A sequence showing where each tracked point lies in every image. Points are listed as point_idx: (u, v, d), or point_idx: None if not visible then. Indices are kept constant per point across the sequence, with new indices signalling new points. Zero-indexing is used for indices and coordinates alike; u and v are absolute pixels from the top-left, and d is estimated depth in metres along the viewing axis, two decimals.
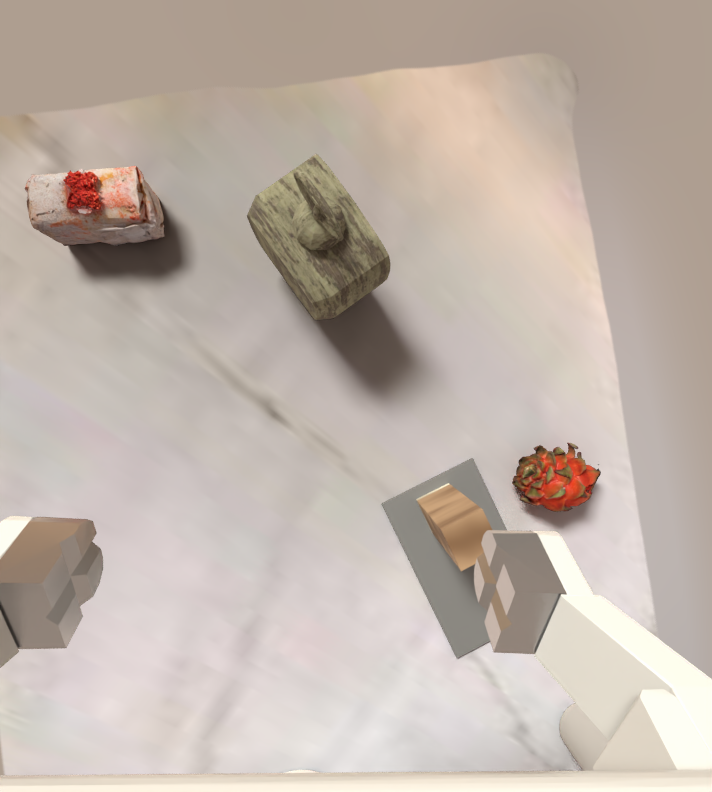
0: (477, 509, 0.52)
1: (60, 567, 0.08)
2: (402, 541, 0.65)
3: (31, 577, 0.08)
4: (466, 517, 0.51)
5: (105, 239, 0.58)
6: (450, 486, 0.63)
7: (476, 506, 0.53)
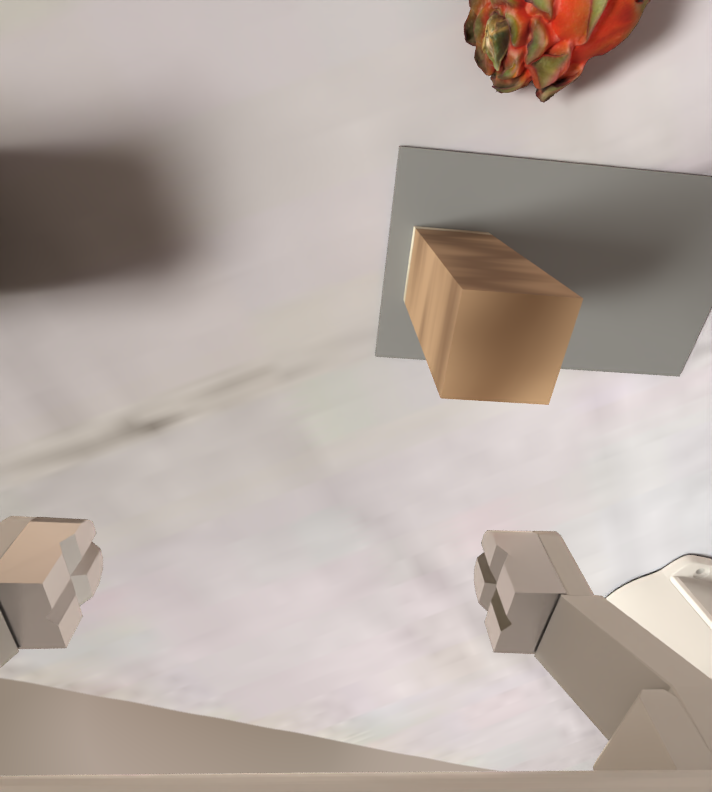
0: (457, 295, 0.20)
1: (60, 567, 0.08)
2: None
3: (31, 577, 0.08)
4: (455, 335, 0.20)
5: None
6: (417, 235, 0.30)
7: (453, 283, 0.20)
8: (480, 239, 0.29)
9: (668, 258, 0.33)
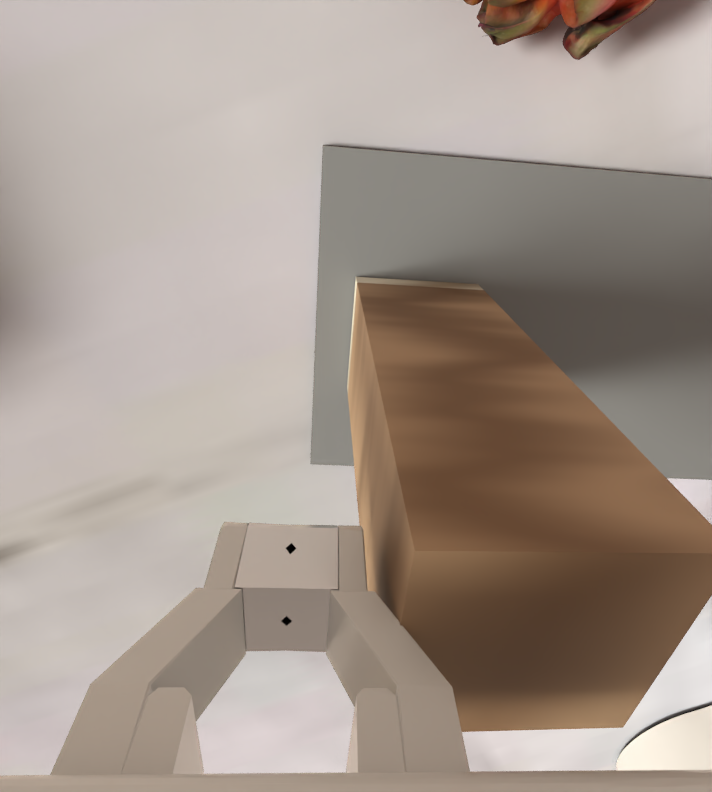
0: (405, 541, 0.07)
1: None
2: None
3: (276, 582, 0.08)
4: None
5: None
6: (358, 296, 0.17)
7: (398, 492, 0.08)
8: (465, 305, 0.17)
9: None
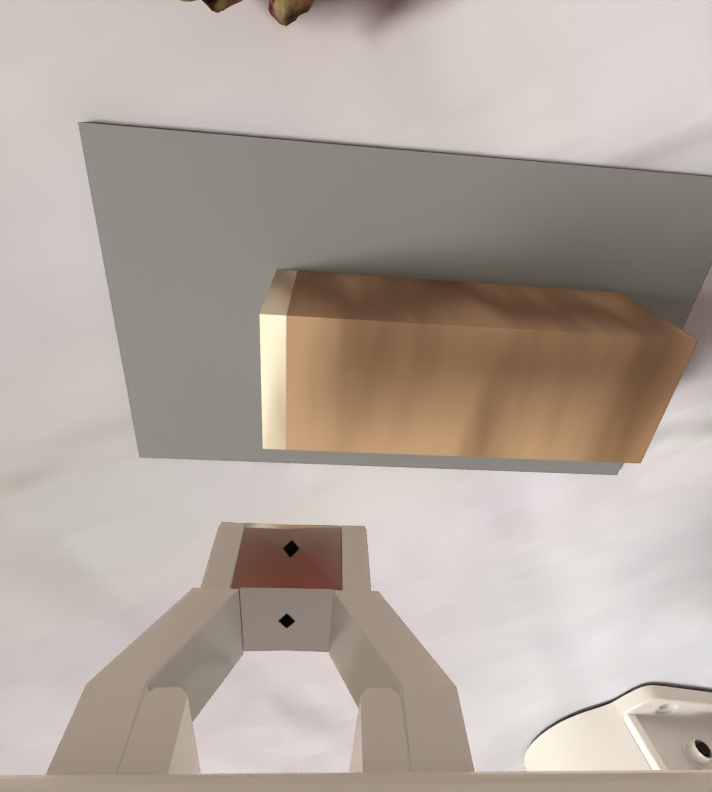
0: (676, 350, 0.15)
1: None
2: (262, 456, 0.23)
3: (273, 582, 0.08)
4: (672, 391, 0.16)
5: None
6: (320, 324, 0.15)
7: (652, 343, 0.15)
8: (350, 283, 0.18)
9: None
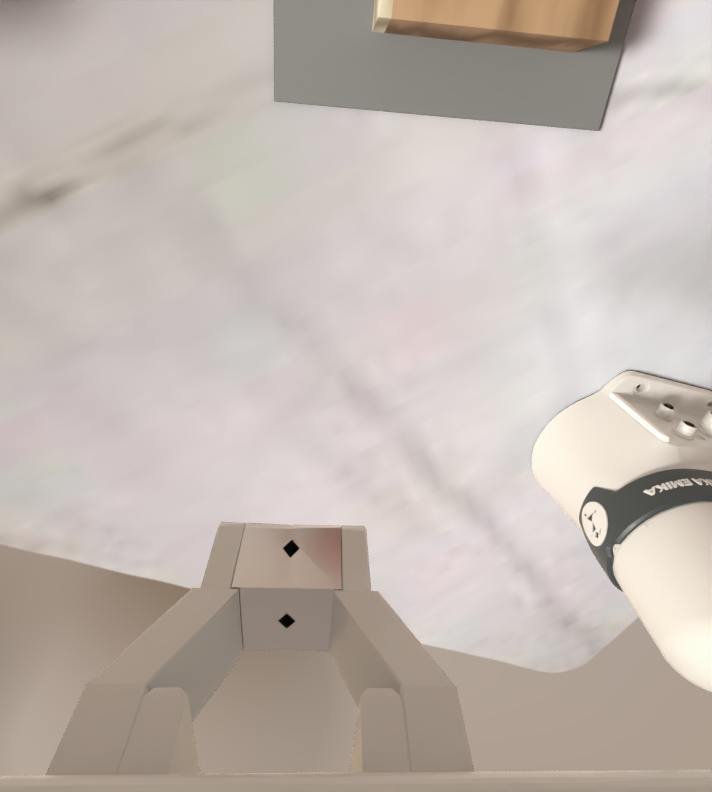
0: None
1: None
2: (356, 103, 0.34)
3: (273, 582, 0.08)
4: None
5: None
6: None
7: None
8: None
9: None
